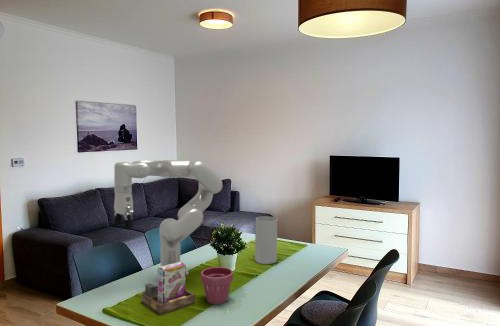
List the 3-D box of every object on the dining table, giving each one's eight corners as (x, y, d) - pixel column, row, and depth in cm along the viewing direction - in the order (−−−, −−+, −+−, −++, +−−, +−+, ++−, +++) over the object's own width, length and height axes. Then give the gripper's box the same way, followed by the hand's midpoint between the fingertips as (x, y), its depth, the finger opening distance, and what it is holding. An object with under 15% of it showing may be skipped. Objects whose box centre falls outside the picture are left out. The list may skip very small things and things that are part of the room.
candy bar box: (163, 308, 162) (163, 269, 161) (157, 304, 166) (157, 266, 165) (186, 301, 170) (186, 264, 169) (179, 297, 174) (179, 261, 172)
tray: (175, 292, 182) (175, 275, 181) (195, 303, 170) (195, 285, 169) (141, 302, 170) (141, 284, 170) (159, 315, 158) (159, 296, 158)
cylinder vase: (262, 256, 237) (263, 215, 235) (280, 260, 229) (281, 218, 228) (250, 261, 227) (251, 219, 225) (268, 266, 219) (269, 222, 217)
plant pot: (203, 292, 181) (203, 265, 181) (233, 293, 181) (234, 266, 180) (198, 306, 167) (198, 277, 166) (231, 307, 167) (231, 278, 166)
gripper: (139, 190, 176) (139, 228, 177) (122, 186, 188) (122, 221, 189) (124, 192, 170) (124, 231, 172) (106, 187, 183) (107, 224, 184)
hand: (123, 226), depth 180 cm, fingers open, 9 cm apart
